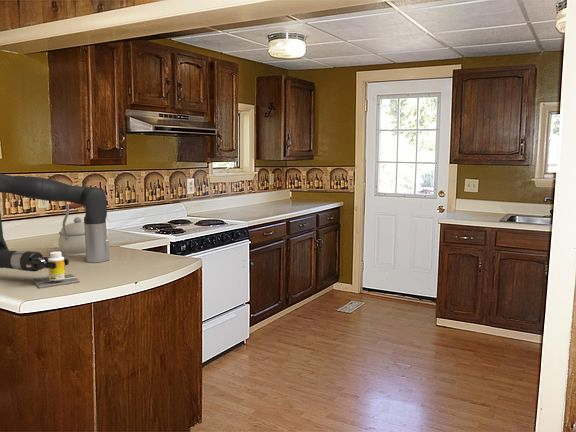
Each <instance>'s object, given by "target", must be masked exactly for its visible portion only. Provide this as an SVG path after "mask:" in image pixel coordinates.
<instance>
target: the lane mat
mask: <svg viewBox="0 0 576 432" xmlns="http://www.w3.org/2000/svg"><path fill="white" fill-rule="evenodd" d="M32 282H33V283H34V284H35V285H36V286H37V288H38V289H45V288H52V287H57V286H59V285H60V286H65V284H66V285H72V283H73V284H80V283H81V281H80V280H79V279H78V278H77V277H75V275H73V273H70V274H65V279H63V280H58V281H52V280H50V279H49V276H47V277H42V278H33V279H32ZM79 282H80V283H79Z"/></svg>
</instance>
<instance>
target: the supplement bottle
mask: <svg viewBox="0 0 576 432" xmlns="http://www.w3.org/2000/svg"><path fill="white" fill-rule="evenodd" d="M62 254H63V253H62V251H51V252H49V257H50V258H49V259H48V262H55V263H56V268H55V269H50V268H47V269H48V277H49V279H50V280H52V281H58V280H63V279H65V275H66V267H65V266H66V265H65V264H64V259H65V257H64V256H63V255H62Z"/></svg>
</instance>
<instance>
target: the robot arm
mask: <svg viewBox="0 0 576 432" xmlns="http://www.w3.org/2000/svg"><path fill="white" fill-rule="evenodd" d="M0 193H2V194H3V193H5V194H12V195H16V196H20V197H24V198H29V199H34V200H40V201H48V202H69V203H77V204H81V205H84V206H85V207H86V211H85V215H84V217H83V222H84V229H85V245H86V255H85V257H86V260H85V261H86V262H87V263H102V262H106V261H110V247H109V239H108V235H107V216H108V206H107V205H108V204H107V200H108V199H107V196H106V192H105V191H104V190H103V189H101V188H100V187H95V186H78V185H72V184H71V185H70V184H67V183H65V182H61V181H58V180H54V179H51V178H46V177H39V176H27V175H25V176H24V175H23V176H22V175H21V176H20V175H19V176H18V175H16V176H15V175H8V174H3V173H0ZM3 230H4V229H3V223H2V214H1V212H0V269H10V270H11V269H12V270H18V271H25V272H34V273H35V272H38V271H41V270H43V269H44V270H46V269H48V268H50V269H55V268H56V263H55V262H48V259H49V258H50V256H48V255H44V256H43V254H42V253H40V252H39V251H32V250H31V251H30V250H9V248H8V245H7V243H6V241H5V237H4V232H3ZM64 264H65V266H68V265H69V264H70V261H69V259H68V258H64Z"/></svg>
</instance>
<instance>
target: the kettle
mask: <svg viewBox="0 0 576 432" xmlns="http://www.w3.org/2000/svg"><path fill="white" fill-rule="evenodd" d="M79 208H83V209H84V211H85V212H86V207H85V206H84V205H81V204H77V203H73V202H71V204H70V203H67V204H65V210H66V211H65V214H64V218H63V220H62V225H61V226H62V227H61V229H60V231H59V232H58V235H59V237H58V247H59V249H60V250H61V252H63V255H65V256H66V257H82V256H86V245H85V229H84V221H83V219H82V218H81V217H78V216H76V217H75V218H73V222H70V223H67V219H68V217H69V214H70V210H71V209H72V210H73V209H79ZM66 223H67V224H66Z"/></svg>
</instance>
